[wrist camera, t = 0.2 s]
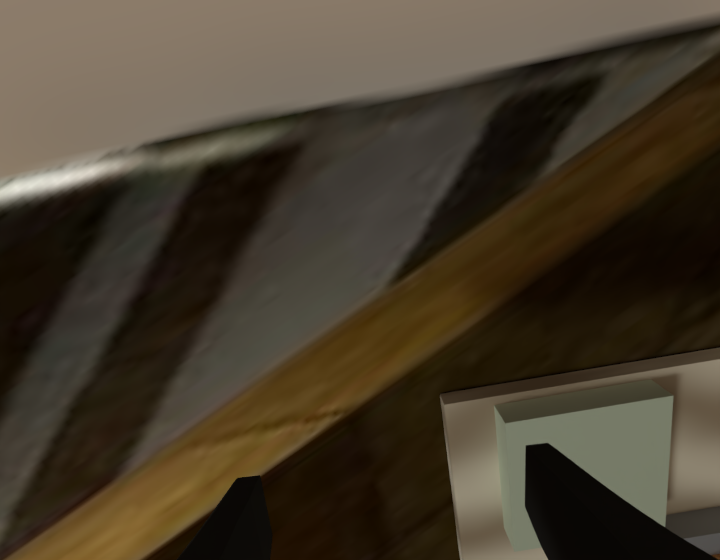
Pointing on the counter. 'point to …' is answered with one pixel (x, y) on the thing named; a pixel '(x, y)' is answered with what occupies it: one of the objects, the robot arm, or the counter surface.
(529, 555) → the board
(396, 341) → the counter surface
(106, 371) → the counter surface
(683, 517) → the stand
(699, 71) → the counter surface
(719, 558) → the block
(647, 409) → the stand
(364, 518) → the counter surface
